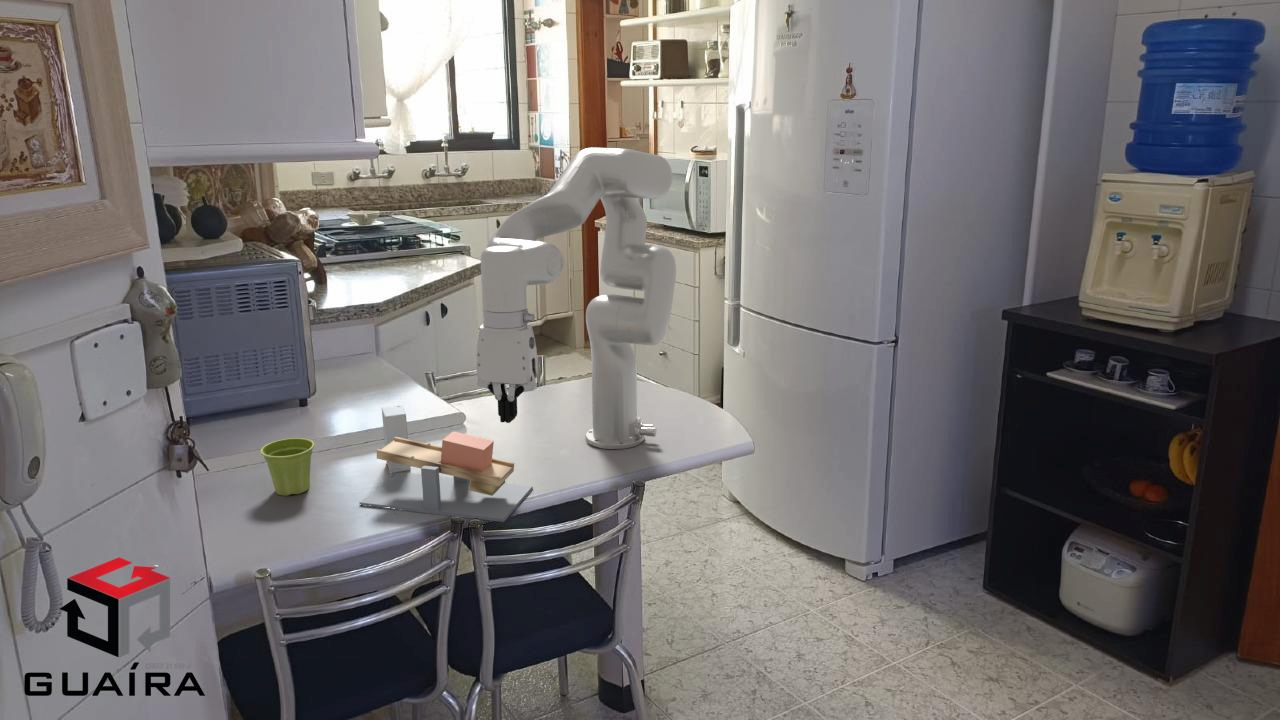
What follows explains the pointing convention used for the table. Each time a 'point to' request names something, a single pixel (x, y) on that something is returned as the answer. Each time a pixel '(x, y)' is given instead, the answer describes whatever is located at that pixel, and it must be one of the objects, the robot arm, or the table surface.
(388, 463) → the skincare box
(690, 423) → the table surface
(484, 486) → the beam
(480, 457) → the block
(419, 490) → the stand
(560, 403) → the table surface
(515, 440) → the table surface
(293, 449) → the plant pot
